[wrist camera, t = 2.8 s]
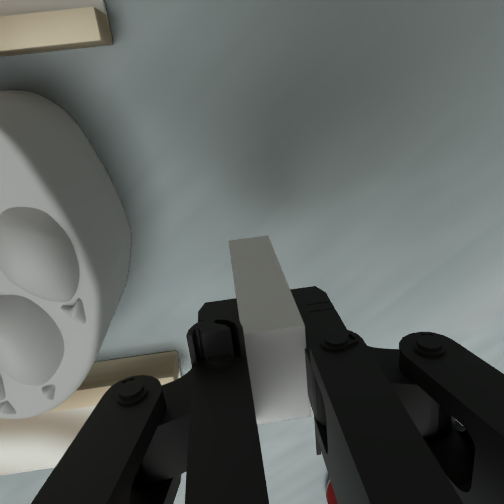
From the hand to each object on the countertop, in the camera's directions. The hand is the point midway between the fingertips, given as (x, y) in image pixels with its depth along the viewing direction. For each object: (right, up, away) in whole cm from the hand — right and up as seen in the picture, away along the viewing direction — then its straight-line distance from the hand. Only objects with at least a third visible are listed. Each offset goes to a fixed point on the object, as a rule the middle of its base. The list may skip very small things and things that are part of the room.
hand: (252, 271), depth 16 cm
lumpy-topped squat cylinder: (-12, +2, +7) cm, 14 cm away
